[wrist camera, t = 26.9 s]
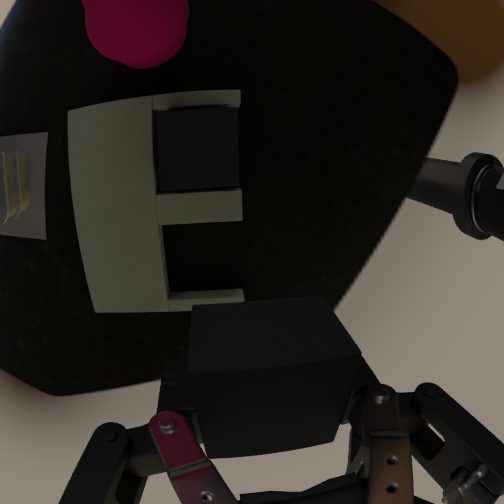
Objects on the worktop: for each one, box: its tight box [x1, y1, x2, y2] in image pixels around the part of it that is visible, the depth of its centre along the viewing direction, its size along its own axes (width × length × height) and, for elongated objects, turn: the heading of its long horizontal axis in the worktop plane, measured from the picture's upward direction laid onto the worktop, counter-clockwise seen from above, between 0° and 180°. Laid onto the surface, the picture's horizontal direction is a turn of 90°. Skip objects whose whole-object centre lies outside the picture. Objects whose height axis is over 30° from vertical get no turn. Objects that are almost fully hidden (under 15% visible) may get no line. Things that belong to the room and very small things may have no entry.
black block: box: [187, 295, 362, 459], centre depth 11 cm, size 5×5×4 cm
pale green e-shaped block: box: [68, 90, 244, 312], centre depth 22 cm, size 14×18×2 cm
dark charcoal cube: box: [156, 107, 239, 191], centre depth 20 cm, size 5×5×4 cm
